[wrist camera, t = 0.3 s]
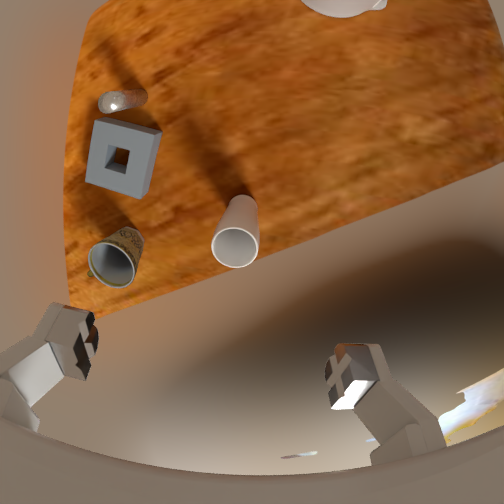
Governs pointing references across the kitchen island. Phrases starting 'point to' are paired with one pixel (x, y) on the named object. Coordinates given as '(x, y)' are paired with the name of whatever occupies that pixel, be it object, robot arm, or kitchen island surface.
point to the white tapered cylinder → (237, 233)
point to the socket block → (139, 163)
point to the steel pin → (122, 100)
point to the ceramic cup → (116, 258)
